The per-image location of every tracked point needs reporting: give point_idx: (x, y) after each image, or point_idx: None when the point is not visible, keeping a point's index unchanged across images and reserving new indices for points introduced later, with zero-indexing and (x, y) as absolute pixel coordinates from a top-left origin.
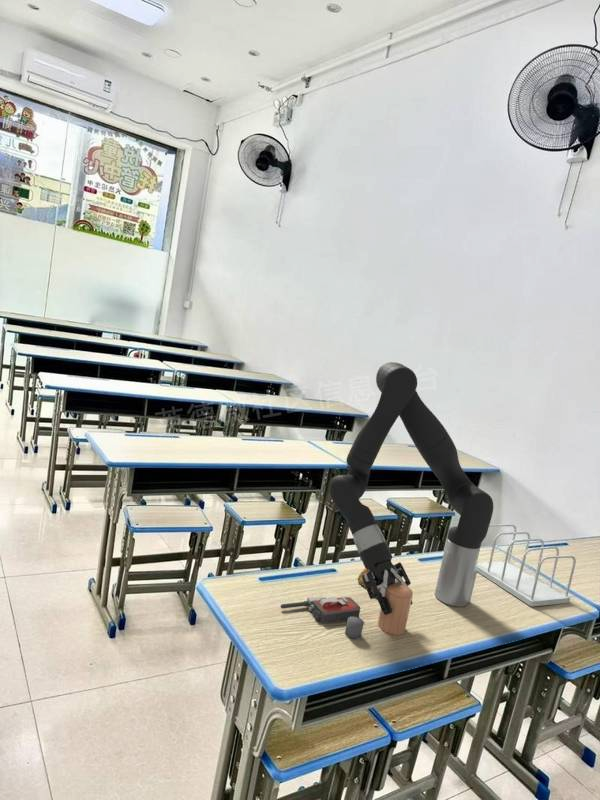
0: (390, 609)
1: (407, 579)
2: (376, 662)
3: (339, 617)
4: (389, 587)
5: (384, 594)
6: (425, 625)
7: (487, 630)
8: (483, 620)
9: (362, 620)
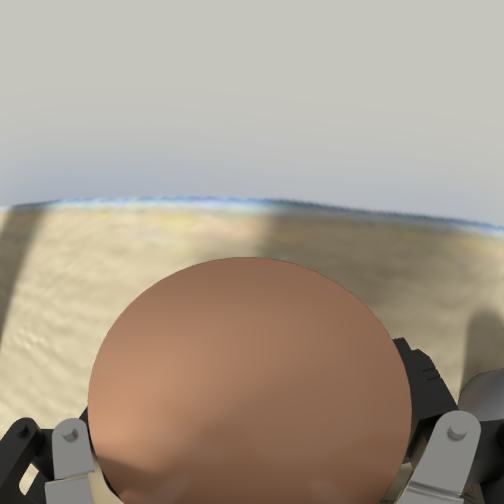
0: (401, 346)
1: (12, 446)
2: (490, 244)
3: (469, 498)
4: (325, 501)
5: (455, 423)
6: None
7: (31, 227)
8: (4, 259)
9: (492, 401)
